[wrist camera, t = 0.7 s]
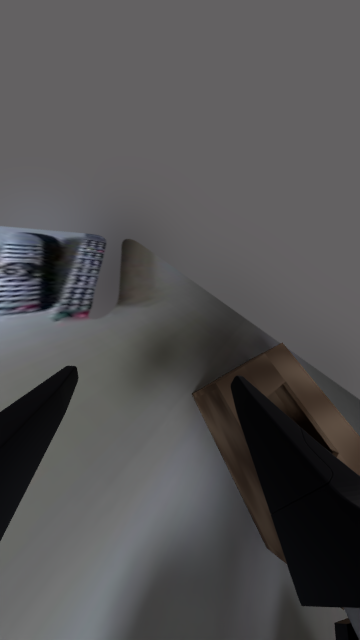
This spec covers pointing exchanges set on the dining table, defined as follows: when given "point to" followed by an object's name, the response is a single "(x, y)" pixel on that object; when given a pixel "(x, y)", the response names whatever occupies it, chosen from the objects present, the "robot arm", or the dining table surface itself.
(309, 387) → the walnut box
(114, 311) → the dining table surface
